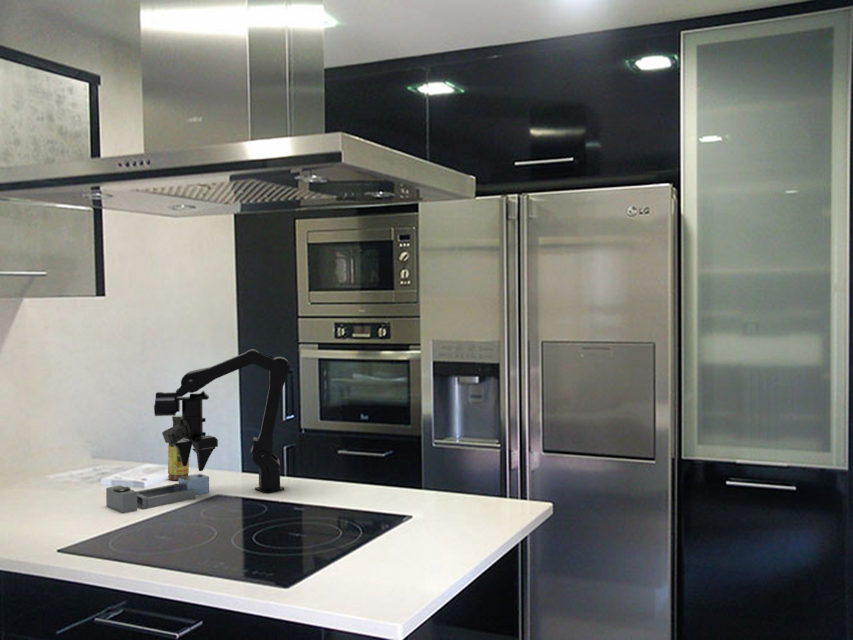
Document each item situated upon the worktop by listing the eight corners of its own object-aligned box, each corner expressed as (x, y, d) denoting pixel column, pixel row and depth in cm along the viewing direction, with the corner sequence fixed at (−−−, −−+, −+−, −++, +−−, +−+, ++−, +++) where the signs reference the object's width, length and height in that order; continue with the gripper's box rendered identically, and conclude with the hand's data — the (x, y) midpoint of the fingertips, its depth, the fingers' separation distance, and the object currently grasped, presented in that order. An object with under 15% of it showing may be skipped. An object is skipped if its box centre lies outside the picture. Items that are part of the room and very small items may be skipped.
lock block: (209, 493, 230) (209, 475, 230) (187, 498, 225) (187, 479, 225) (200, 490, 234) (200, 473, 234) (178, 494, 229) (178, 477, 229)
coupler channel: (196, 498, 224) (196, 480, 224) (122, 513, 209) (122, 493, 209) (177, 491, 232) (177, 473, 232) (105, 505, 216) (104, 486, 216)
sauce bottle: (178, 481, 244) (178, 417, 243) (163, 479, 246) (162, 416, 246) (193, 477, 249) (193, 414, 249) (178, 475, 252) (177, 413, 251)
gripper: (150, 414, 230) (151, 467, 230) (182, 422, 216) (183, 478, 217) (185, 410, 237) (186, 461, 238) (218, 417, 224) (219, 472, 225)
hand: (192, 468), depth 229 cm, fingers open, 9 cm apart
